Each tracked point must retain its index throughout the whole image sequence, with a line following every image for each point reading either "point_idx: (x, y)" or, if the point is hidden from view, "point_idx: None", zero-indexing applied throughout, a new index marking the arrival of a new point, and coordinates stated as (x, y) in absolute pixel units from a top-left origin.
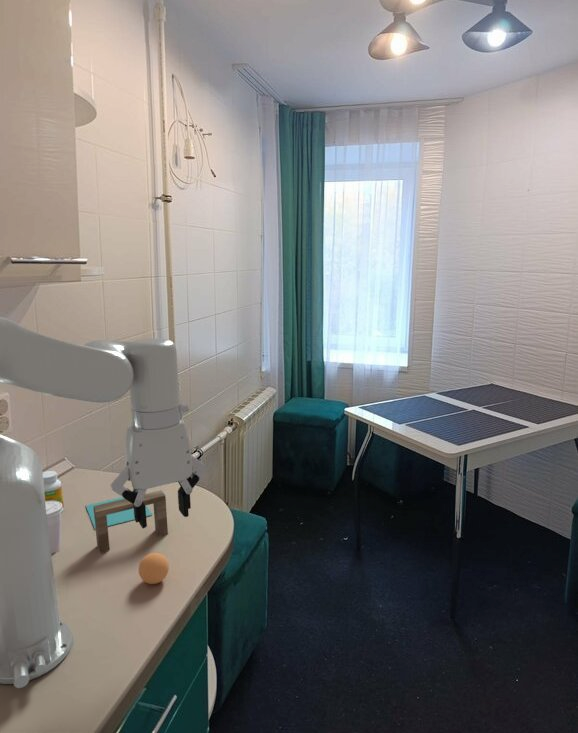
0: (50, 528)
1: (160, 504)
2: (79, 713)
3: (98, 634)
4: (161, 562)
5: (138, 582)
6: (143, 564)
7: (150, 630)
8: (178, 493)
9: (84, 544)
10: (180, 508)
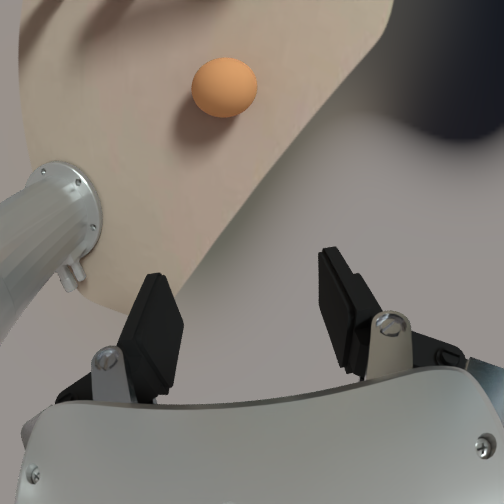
0: None
1: None
2: None
3: (132, 201)
4: (240, 102)
5: None
6: (199, 97)
7: (206, 217)
8: (343, 310)
9: None
10: (323, 280)
